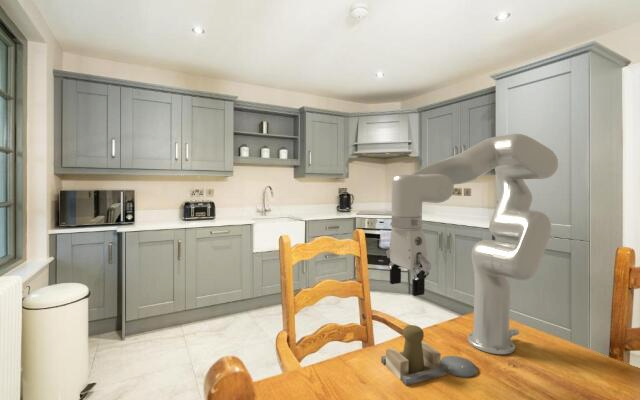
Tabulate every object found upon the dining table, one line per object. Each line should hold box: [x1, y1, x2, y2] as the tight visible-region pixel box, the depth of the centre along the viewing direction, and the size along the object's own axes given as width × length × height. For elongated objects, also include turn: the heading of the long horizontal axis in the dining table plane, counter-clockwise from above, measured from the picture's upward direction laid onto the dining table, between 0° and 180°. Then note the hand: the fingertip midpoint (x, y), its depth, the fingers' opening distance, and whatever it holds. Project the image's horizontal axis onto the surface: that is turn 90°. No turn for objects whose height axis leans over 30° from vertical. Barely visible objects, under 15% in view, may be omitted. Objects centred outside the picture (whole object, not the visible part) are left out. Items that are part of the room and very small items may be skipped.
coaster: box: [440, 355, 478, 378], centre depth 84 cm, size 9×9×1 cm
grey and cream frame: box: [380, 341, 448, 386], centre depth 84 cm, size 12×11×4 cm
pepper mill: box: [402, 324, 426, 375], centre depth 84 cm, size 6×6×11 cm
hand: (406, 288), depth 82 cm, fingers open, 9 cm apart
